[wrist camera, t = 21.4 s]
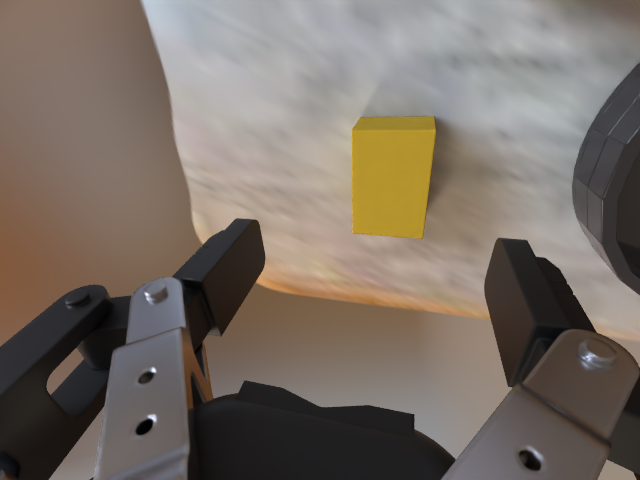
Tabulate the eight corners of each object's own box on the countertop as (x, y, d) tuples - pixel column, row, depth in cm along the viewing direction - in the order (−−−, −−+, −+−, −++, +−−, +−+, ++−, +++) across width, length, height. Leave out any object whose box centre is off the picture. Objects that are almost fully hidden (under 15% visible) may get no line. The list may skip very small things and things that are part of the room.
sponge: (360, 117, 18) (351, 129, 16) (433, 116, 17) (436, 129, 15) (359, 211, 22) (352, 233, 19) (422, 214, 21) (422, 239, 18)
